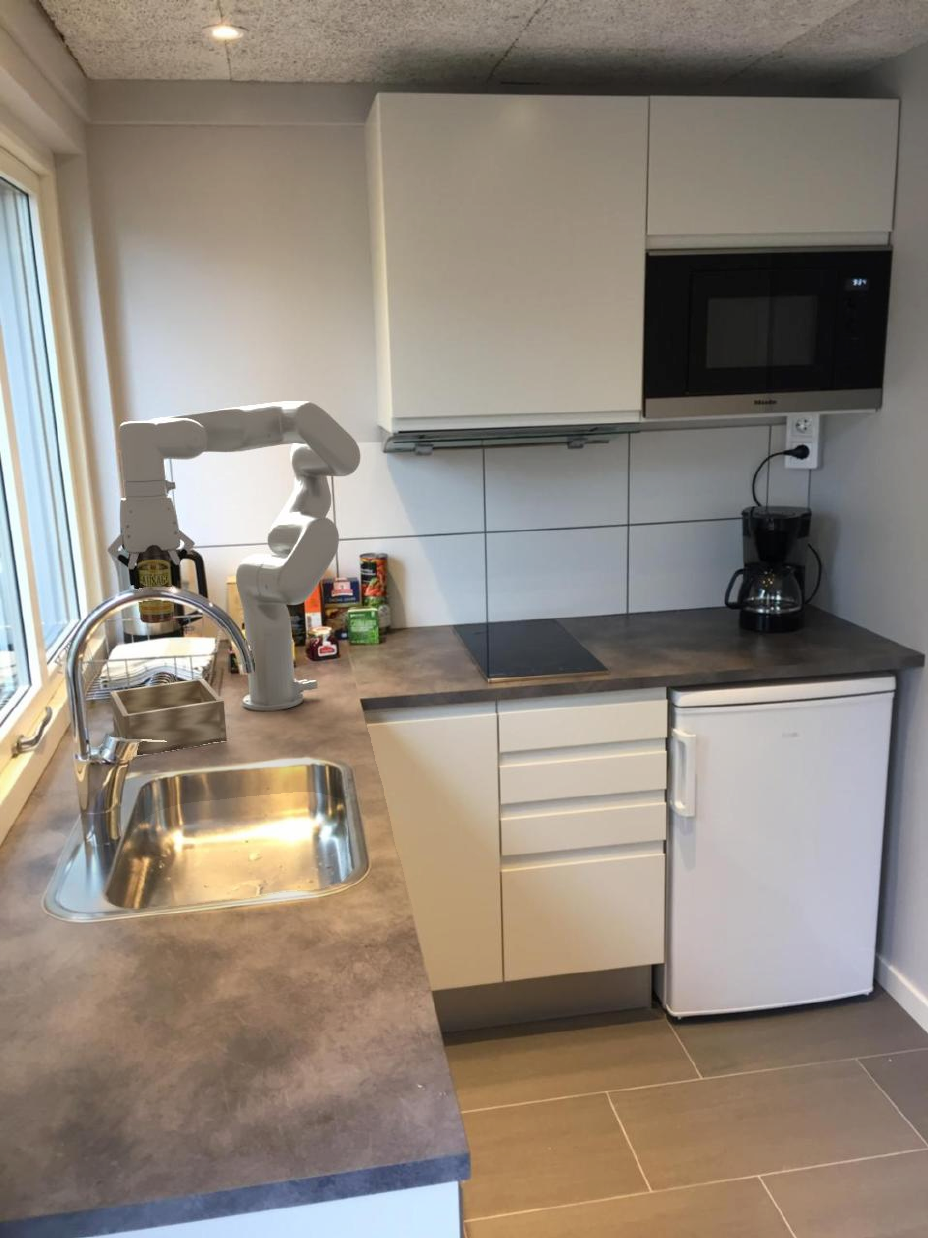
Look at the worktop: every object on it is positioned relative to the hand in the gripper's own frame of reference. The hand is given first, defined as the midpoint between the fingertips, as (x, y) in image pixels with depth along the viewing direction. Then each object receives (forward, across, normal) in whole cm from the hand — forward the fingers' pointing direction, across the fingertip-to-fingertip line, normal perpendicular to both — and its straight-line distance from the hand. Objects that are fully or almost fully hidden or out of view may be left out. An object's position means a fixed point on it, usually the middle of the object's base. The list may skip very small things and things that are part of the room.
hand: (155, 586), depth 188 cm
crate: (+29, 0, 0) cm, 29 cm away
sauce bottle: (+7, 0, 0) cm, 7 cm away
